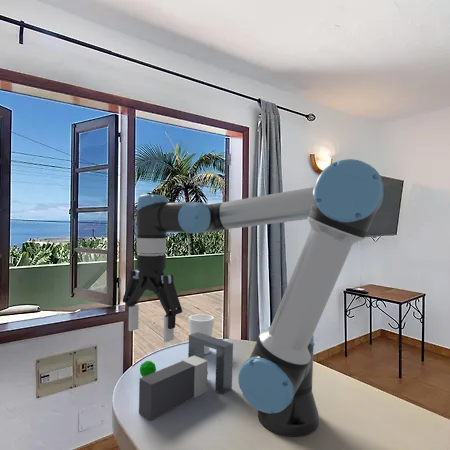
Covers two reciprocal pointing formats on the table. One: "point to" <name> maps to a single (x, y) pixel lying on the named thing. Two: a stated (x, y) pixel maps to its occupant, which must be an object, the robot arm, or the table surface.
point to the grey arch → (222, 358)
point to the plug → (172, 386)
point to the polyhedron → (147, 368)
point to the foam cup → (201, 326)
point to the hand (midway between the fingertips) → (150, 335)
